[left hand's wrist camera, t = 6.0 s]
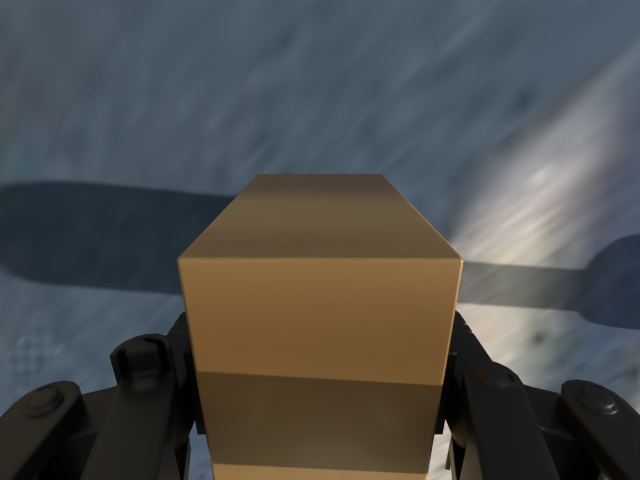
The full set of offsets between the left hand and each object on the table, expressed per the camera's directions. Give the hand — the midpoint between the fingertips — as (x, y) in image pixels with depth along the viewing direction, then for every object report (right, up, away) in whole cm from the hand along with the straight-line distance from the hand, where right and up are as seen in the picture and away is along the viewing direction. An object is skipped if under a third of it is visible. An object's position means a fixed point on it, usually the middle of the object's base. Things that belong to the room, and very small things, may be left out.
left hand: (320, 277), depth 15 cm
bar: (0, -7, +3) cm, 8 cm away
